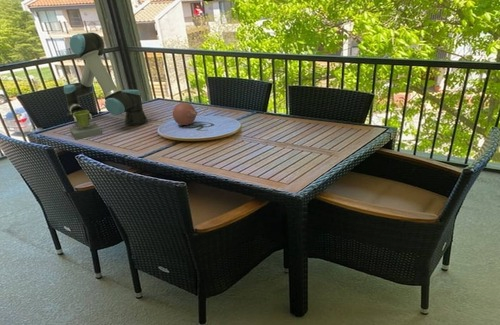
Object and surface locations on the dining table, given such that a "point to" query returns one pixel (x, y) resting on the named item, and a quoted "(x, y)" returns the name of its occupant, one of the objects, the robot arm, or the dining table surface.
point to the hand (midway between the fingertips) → (83, 118)
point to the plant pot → (82, 118)
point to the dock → (85, 131)
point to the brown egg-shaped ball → (184, 114)
